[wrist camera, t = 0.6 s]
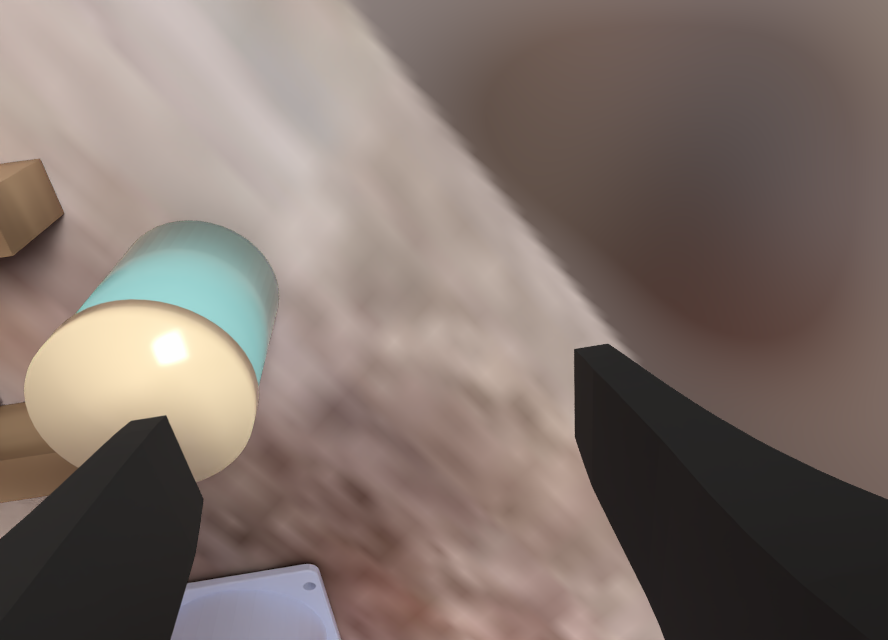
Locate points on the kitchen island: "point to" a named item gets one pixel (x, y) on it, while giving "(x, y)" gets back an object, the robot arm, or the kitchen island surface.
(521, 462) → the kitchen island surface
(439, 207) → the kitchen island surface
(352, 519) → the kitchen island surface
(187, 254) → the jar
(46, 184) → the wooden pieces
